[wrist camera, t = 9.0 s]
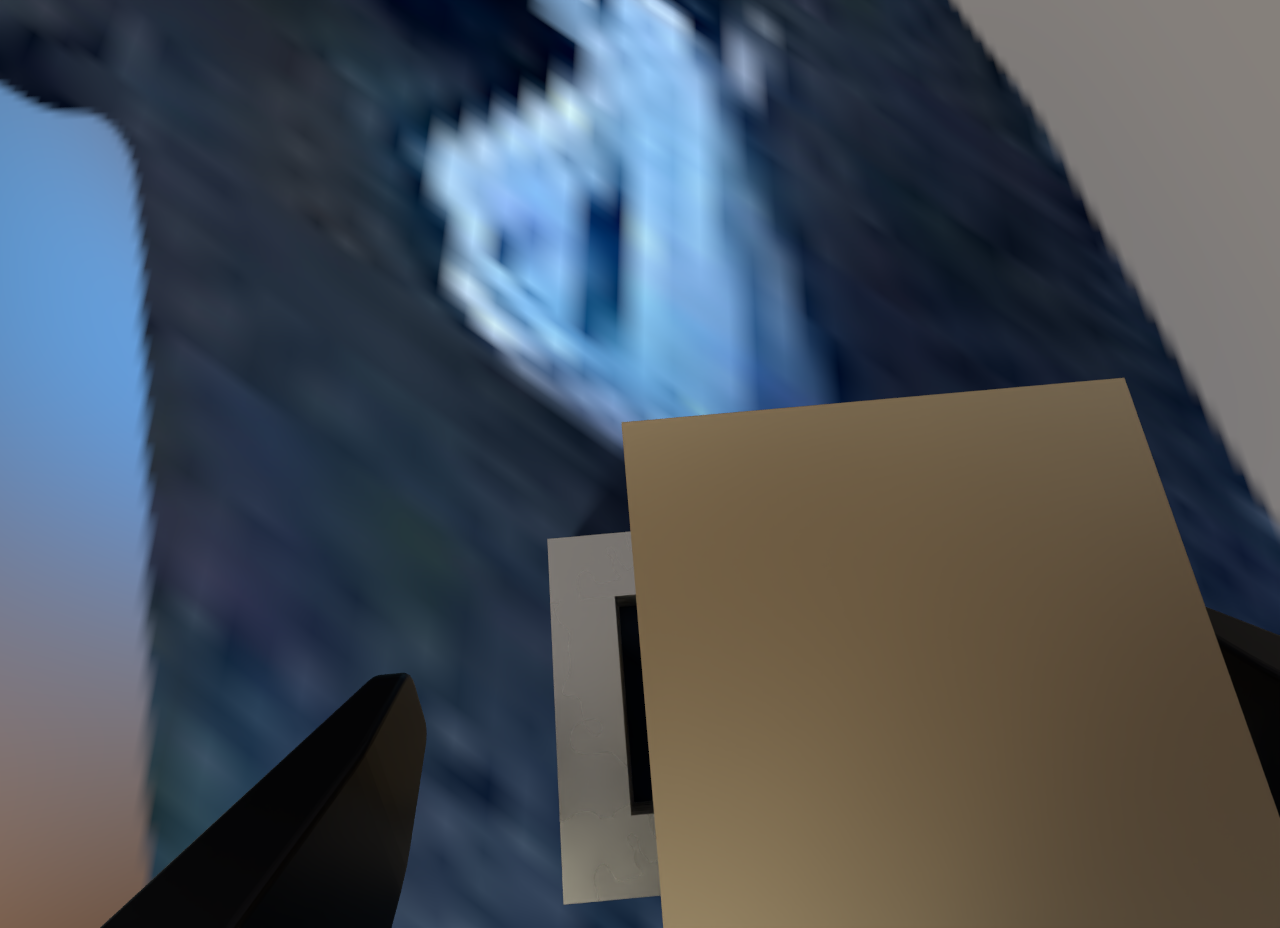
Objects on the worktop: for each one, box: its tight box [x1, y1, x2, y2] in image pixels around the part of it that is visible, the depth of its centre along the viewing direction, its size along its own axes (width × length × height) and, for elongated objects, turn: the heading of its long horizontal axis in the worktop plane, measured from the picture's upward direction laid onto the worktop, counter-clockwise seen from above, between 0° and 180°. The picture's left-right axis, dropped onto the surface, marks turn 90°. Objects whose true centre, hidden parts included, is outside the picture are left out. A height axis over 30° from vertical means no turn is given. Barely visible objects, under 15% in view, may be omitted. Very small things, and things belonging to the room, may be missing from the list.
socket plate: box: [548, 532, 661, 904], centre depth 16 cm, size 8×8×2 cm
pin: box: [622, 378, 1280, 928], centre depth 10 cm, size 3×3×14 cm
